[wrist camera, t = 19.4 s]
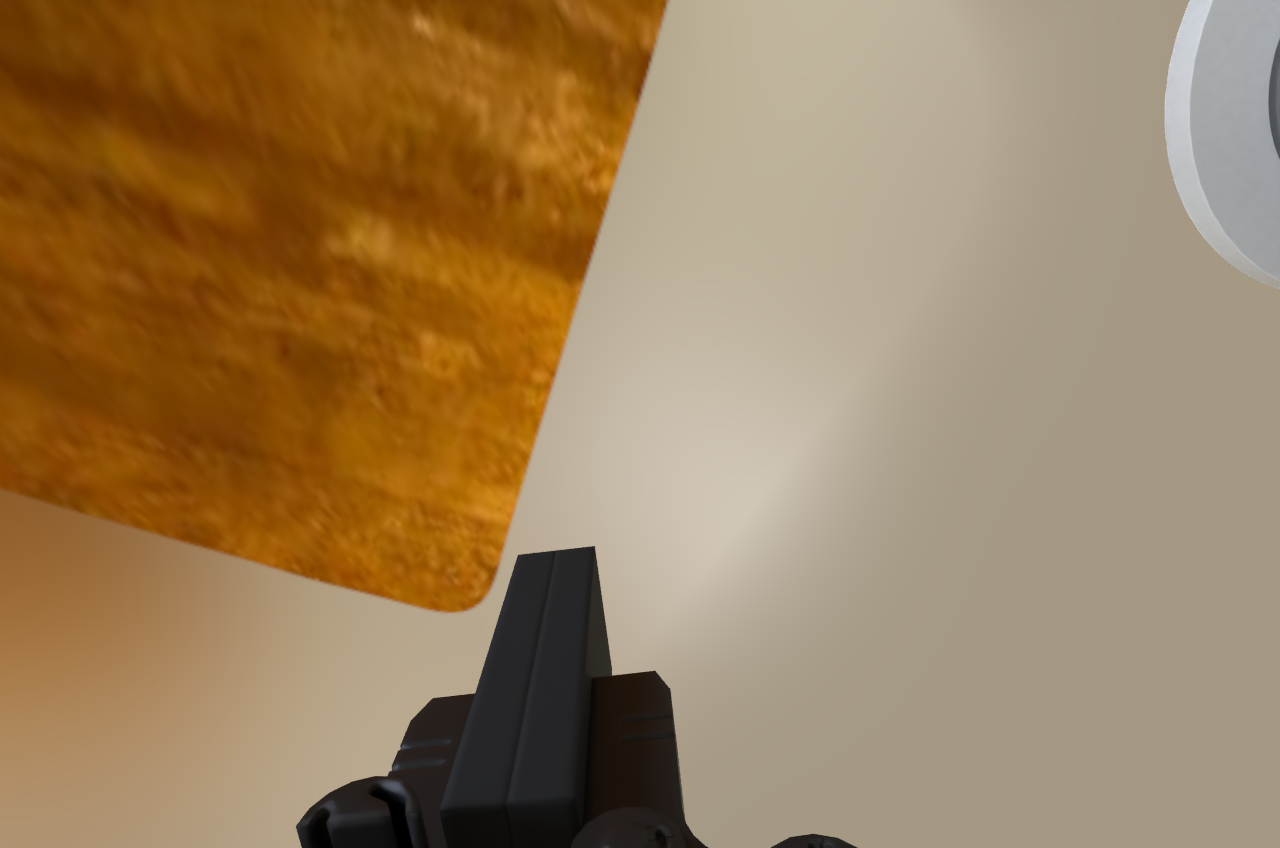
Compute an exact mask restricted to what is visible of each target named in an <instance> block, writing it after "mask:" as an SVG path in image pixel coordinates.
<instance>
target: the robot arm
mask: <svg viewBox="0 0 1280 848" xmlns="http://www.w3.org/2000/svg"><path fill="white" fill-rule="evenodd" d="M1268 105H1269V120H1270V128H1271V133H1272V137H1273V142H1274V146H1275V148H1276V151H1277V154H1278V157H1279V159H1280V39H1279V42H1278V45H1277V48H1276V51H1275V55H1274V60H1273V64H1272V69H1271V75H1270V82H1269V97H1268ZM400 747H401V750H399V751H398V753H397V755H396V757H395V760H394V762H393V764H392V771H390V772H389V774H388V776H387V777H386V776H385V777H384V776H374V777H370V778H366V779H362V780H357V781H353V782H351V783H349V784H347V785H344V786H342V787H340V788H338V789H336V790H334V791H332V792H330V793H329V794H327V795H326V796H325V797H323V798H322V799H321V800H320V801H318V802H317V803H316V804H314V805H313V806H312V807H311V808H309V810H308V811H307V812H306V814H305V815H304V816H303V818H302V819H301V820H300V822H299V823H298V824H297V826H296V829H297V832H298V835H299V839H300V843H301V846H302V848H708V847H706V846H705V845H704V844H702V843H701V842H700V841H699V840H698V839H697V838H696V837H695V836H694V835H693V834H692V832H691V831H690V829H689V827H688V826H687V824H686V821H685V815H684V805H683V797H682V787H681V778H680V767H679V759H678V751H677V742H676V734H675V725H674V717H673V708H672V700H671V692H670V688H669V687H668V686H667V685H666V684H665V682H664V681H663V680H662V679H661V677H660V676H659V675H658V674H657V673H656V671H649V672H641V673H632V674H623V675H614V676H612V666H611V659H610V652H609V645H608V638H607V631H606V623H605V616H604V610H603V602H602V595H601V588H600V581H599V574H598V566H597V559H596V552H595V546H592V547H583V548H575V549H566V550H558V551H548V552H540V553H532V554H523V555H518V557H517V560H516V563H515V566H514V570H513V573H512V576H511V579H510V583H509V586H508V589H507V592H506V596H505V599H504V602H503V606H502V609H501V612H500V615H499V619H498V622H497V625H496V628H495V632H494V635H493V638H492V641H491V644H490V648H489V651H488V654H487V657H486V661H485V664H484V667H483V670H482V674H481V677H480V680H479V683H478V687H477V690H476V693H475V694H466V695H457V696H449V697H440V698H433V699H432V700H431V701H430V702H429V703H428V704H427V705H426V706H425V707H424V708H423V709H422V710H421V711H420V712H419V713H418V714H417V715H416V716H415V717H414V718H413V719H412V720H411V722H410V724H409V726H408V729H407V731H406V733H405V736H404V738H403V741H402V743H401V745H400ZM771 848H857V847H855V846H853V845H851V844H849V843H847V842H845V841H843V840H841V839H839V838H835V837H829V836H822V835H817V834H810V835H802V836H795V837H790V838H788V839H786V840H784V841H783V842H780V843H779V844H777V845H775V846H773V847H771Z"/></svg>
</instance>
